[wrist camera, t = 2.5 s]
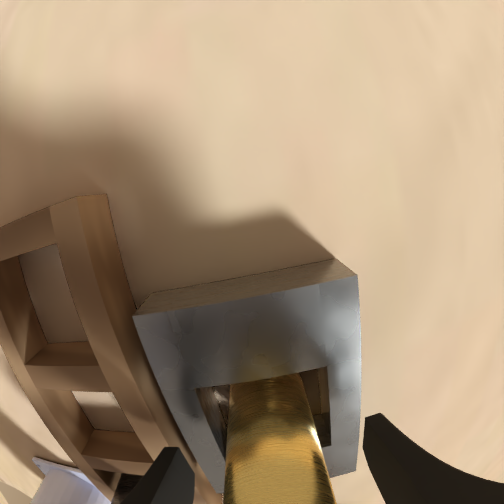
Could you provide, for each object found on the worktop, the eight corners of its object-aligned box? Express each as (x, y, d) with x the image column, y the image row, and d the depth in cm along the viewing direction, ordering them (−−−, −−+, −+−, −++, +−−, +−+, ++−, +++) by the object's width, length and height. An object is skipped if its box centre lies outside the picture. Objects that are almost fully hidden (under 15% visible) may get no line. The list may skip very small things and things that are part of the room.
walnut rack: (222, 495, 16) (220, 520, 13) (128, 490, 16) (121, 511, 13) (106, 194, 11) (76, 196, 9) (-2, 234, 11) (-32, 243, 9)
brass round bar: (305, 406, 14) (343, 556, 5) (238, 418, 14) (237, 570, 5) (298, 353, 13) (351, 528, 4) (222, 366, 13) (204, 545, 4)
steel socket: (345, 442, 14) (355, 470, 12) (218, 463, 15) (216, 493, 12) (336, 258, 12) (357, 274, 9) (151, 292, 12) (131, 316, 10)
